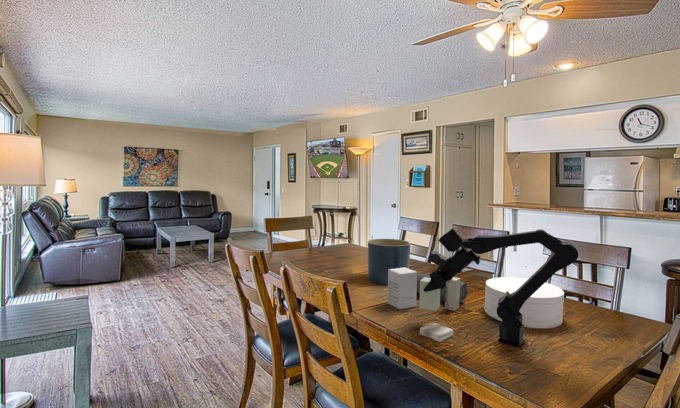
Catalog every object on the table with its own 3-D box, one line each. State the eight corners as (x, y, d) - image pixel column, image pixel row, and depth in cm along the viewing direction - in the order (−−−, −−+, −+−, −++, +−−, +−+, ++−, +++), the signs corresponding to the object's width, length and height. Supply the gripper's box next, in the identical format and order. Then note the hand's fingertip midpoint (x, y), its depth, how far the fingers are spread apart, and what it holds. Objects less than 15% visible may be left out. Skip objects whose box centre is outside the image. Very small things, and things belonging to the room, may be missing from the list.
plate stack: (473, 314, 148) (474, 286, 147) (498, 298, 168) (500, 273, 167) (551, 335, 129) (553, 303, 128) (569, 314, 149) (571, 286, 148)
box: (449, 305, 157) (450, 276, 156) (459, 308, 154) (460, 277, 153) (444, 309, 153) (445, 278, 152) (454, 311, 150) (455, 280, 149)
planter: (364, 284, 187) (365, 244, 185) (368, 273, 208) (369, 237, 207) (409, 287, 183) (410, 246, 182) (408, 275, 205) (409, 239, 203)
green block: (439, 305, 136) (440, 279, 136) (436, 310, 131) (436, 283, 130) (423, 303, 139) (424, 277, 138) (419, 308, 134) (419, 280, 133)
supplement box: (403, 300, 163) (404, 266, 162) (416, 306, 155) (417, 271, 154) (386, 303, 159) (387, 268, 158) (398, 309, 151) (400, 273, 150)
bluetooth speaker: (467, 302, 162) (468, 279, 162) (459, 307, 155) (460, 284, 155) (421, 291, 177) (421, 270, 176) (411, 295, 170) (412, 274, 169)
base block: (453, 336, 127) (453, 329, 127) (439, 343, 122) (439, 335, 122) (433, 329, 133) (433, 322, 133) (419, 335, 128) (419, 328, 128)
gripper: (447, 240, 140) (418, 266, 146) (436, 248, 123) (403, 277, 129) (468, 263, 137) (437, 288, 142) (460, 274, 120) (425, 302, 126)
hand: (426, 288), depth 135 cm, fingers closed on green block, 6 cm apart
